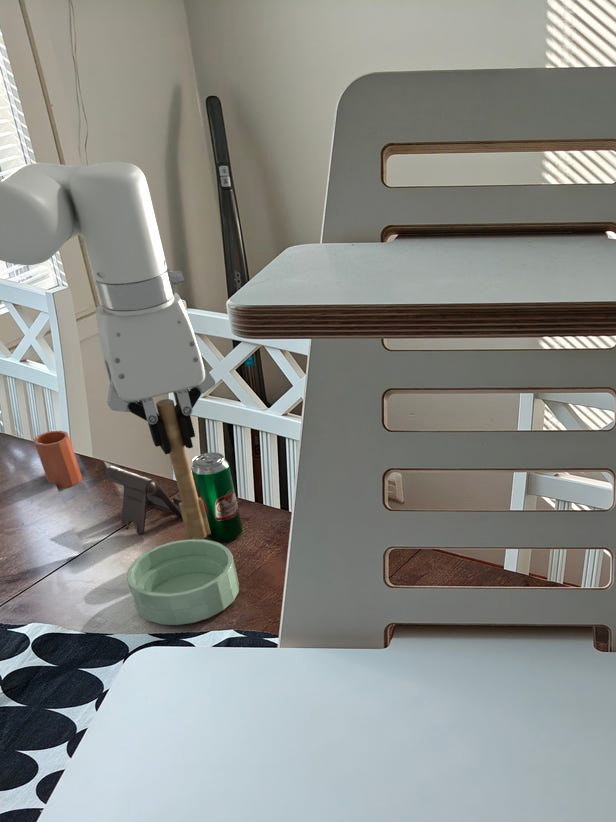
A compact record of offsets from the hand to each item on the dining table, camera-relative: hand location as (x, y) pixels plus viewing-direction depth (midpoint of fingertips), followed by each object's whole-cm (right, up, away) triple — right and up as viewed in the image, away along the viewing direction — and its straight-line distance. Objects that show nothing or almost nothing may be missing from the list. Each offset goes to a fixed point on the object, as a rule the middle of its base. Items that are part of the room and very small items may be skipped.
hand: (176, 445), depth 116 cm
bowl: (-2, -18, +12) cm, 21 cm away
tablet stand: (-12, -5, +29) cm, 32 cm away
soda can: (0, -8, +24) cm, 26 cm away
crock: (-29, +2, +38) cm, 48 cm away
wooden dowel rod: (+1, -10, +8) cm, 13 cm away
